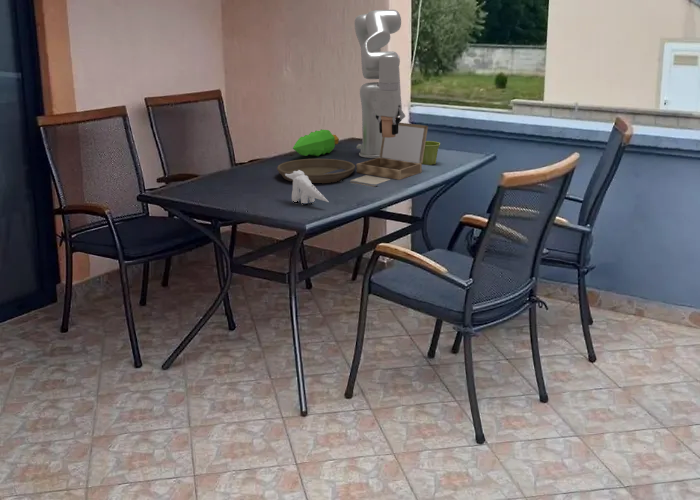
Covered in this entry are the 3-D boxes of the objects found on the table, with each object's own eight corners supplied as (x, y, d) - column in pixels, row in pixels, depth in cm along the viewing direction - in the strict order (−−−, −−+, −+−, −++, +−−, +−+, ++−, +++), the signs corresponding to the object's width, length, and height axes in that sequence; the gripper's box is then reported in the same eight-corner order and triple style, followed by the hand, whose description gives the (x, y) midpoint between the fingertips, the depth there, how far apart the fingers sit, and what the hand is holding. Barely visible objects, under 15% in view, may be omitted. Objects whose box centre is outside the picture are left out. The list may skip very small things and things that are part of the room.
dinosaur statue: (292, 193, 320) (293, 164, 315) (336, 212, 304) (337, 181, 299) (277, 197, 315) (278, 167, 311) (321, 216, 299) (322, 185, 295)
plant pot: (439, 161, 371) (440, 141, 368) (439, 166, 362) (440, 145, 359) (417, 161, 372) (417, 141, 369) (417, 166, 363) (417, 145, 360)
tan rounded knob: (377, 136, 344) (377, 116, 341) (387, 134, 348) (387, 113, 346) (390, 138, 340) (390, 117, 337) (399, 135, 345) (399, 115, 342)
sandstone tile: (350, 182, 337) (350, 180, 337) (366, 177, 345) (366, 175, 344) (375, 187, 330) (375, 184, 330) (390, 181, 338) (390, 179, 337)
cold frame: (356, 175, 349) (356, 163, 348) (379, 168, 360) (379, 157, 359) (399, 182, 337) (399, 170, 335) (421, 174, 348) (421, 163, 347)
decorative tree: (339, 123, 391) (297, 131, 367) (347, 148, 392) (306, 158, 368) (320, 131, 398) (278, 139, 374) (328, 155, 399) (286, 165, 375)
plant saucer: (319, 164, 370) (318, 154, 368) (371, 176, 349) (371, 164, 347) (261, 177, 349) (261, 166, 348) (313, 190, 328) (313, 178, 327)
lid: (385, 120, 357) (386, 121, 358) (379, 156, 359) (380, 157, 360) (427, 125, 345) (428, 126, 346) (421, 163, 347) (422, 163, 347)
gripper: (365, 86, 340) (365, 132, 346) (401, 89, 330) (401, 137, 336) (376, 83, 346) (377, 129, 352) (412, 87, 336) (412, 134, 341)
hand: (388, 132), depth 344 cm, fingers closed on tan rounded knob, 5 cm apart
